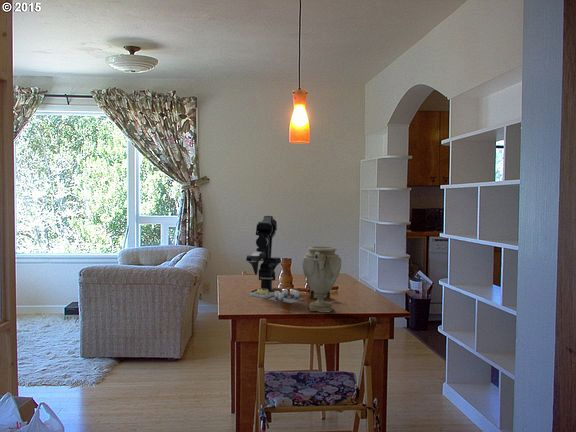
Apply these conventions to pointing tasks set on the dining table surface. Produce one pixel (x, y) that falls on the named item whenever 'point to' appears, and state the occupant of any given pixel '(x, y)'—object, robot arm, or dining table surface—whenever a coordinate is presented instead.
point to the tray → (261, 295)
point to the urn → (321, 274)
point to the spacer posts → (283, 294)
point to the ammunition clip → (313, 296)
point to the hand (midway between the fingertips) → (263, 275)
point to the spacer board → (288, 299)
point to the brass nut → (262, 291)
